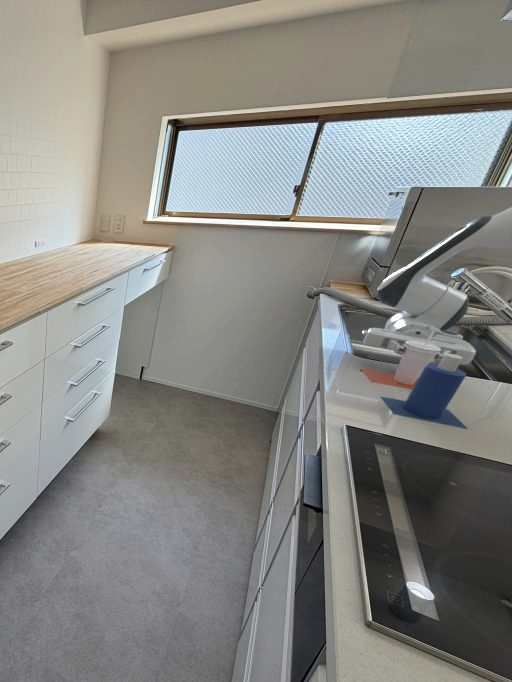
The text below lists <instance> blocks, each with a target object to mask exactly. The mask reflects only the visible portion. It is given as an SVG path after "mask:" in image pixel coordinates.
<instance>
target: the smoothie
mask: <svg viewBox="0 0 512 682" xmlns="http://www.w3.org/2000/svg"><path fill="white" fill-rule="evenodd" d="M436 329H437V328H433V330H432V332H431V333H430V335H429V337H428V339H427V341H426V343H425V342H420V341H406V343H405V344H404V346H405V350H404V351H403V354H402V355H401V357H400V360H399V364H398V367H397V370H396V371H395V372H396V373H395V378H394V380H395V381H397V382H400V383H403V384H407V385H413V384H414V383H415V382H416V380H417V379H419V377H420V375H421V373H422V371H423V370H424V368H425V366H426V365H427V364H431V362H433V360H434V359H433V358H434V357H435V356H436V354H439V353H440V351H441V348H440V347H438V346H435V345H432V344H429V342H430V340H431V338H432V336H433V334H434V333H435V331H436Z"/></svg>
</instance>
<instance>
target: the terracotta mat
mask: <svg viewBox="0 0 512 682" xmlns="http://www.w3.org/2000/svg"><path fill="white" fill-rule="evenodd" d="M359 371H360V372H361V373H363V374H364V375H365V377H366V378H367V379H368V380H369V382H371V383H375V384H380V385H386V386H392V387H397V388H403V389H408V390H412V389H413V388H414V386H415V384H416V382H417V380H418V379H419V378H418V379H417V380H416V382H415V383H414V384H413V385H407V384H403V383H400V382H397V381H395V380H394V378H395V375H396V373H389V372H383V371H378V370H373V369H365V368H360V369H359Z"/></svg>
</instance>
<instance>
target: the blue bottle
mask: <svg viewBox="0 0 512 682" xmlns="http://www.w3.org/2000/svg"><path fill="white" fill-rule="evenodd" d="M462 359H463V358H462V357H461V356H458V355H454V354H445V355H444V357H443V358H442V360H441V361H439V363H430V364H427V365H426V366H425V368H424V370H423V371H422V373H421V375H420V376H419V378H418V380H417V382H416V384H415V386H414V388H413V389H411V390H410V391H411V392H410V393H409V395H408V397H407V398H406V400H405V401H406V402H405V404H404V406H403V407H404V409H406V410H407V411H409V412H411V413H413V414H415V415H418V416H422V417H426V418H431V419H438V418H440V417H441V416H442V414H443V412H444V411H445V409H447V408H448V406H449V404H451V403H450V402H451V401H452V399H453V398H454V396H455V394H456V392H457V391H458V389H459V388H460V386H461V385H462V383H463V382H464V380H465V379H466V377H467V373H466V372H465V371H463V370H461V369H459V368H458V367H459V366H460V365H461V364H460V362H461V361H462Z"/></svg>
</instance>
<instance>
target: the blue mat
mask: <svg viewBox="0 0 512 682" xmlns="http://www.w3.org/2000/svg"><path fill="white" fill-rule="evenodd" d="M380 399H381V400H382V401H383V402H384V404H385V406H387V408H388V409H389V411H391V413H392V414H393V415H395V416H396V415H397V416H401V417H406V418H411V419H416V420H421V421H425V422H430V423H435V424H439V425H440V424H441V425H445V426H450V427H456V428H460V429H466V430H469V428H468V427H467V426H466V425H465V424H464V423H463V422H461V420H460V419H459V418H458V417H457V416H456V415H454V413H452V412H451V411H450V410H449V409H448V408H446V409H445V411H444V412H443V414H442V416H441V417H440V418H438V419H431V418H426V417H422V416H418V415H415V414H413V413H411V412H409V411H407V410H406V409H404V407H403V406H404V404H405V402H406V400H401V399H396V398H391V397H386V396H382V395H381V396H380Z"/></svg>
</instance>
